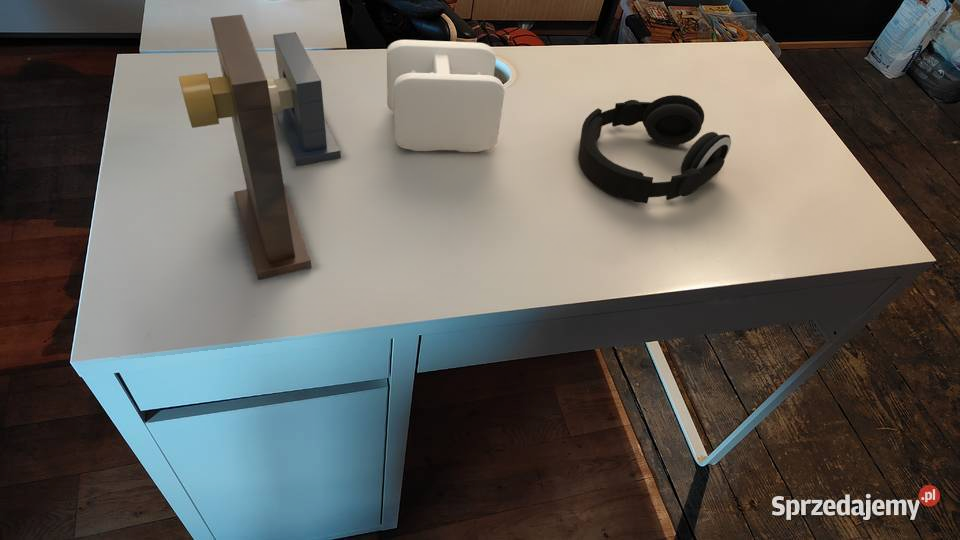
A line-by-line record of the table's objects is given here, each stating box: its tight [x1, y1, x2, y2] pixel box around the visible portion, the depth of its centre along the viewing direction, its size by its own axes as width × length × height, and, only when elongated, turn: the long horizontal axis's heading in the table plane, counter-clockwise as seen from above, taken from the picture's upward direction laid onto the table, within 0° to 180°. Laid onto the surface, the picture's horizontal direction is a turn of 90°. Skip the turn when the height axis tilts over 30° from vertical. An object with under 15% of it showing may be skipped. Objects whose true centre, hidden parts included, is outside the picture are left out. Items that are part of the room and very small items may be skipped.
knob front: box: [178, 72, 236, 129], centre depth 64 cm, size 6×5×5 cm
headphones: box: [577, 94, 732, 204], centre depth 92 cm, size 18×8×20 cm
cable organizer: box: [386, 39, 505, 153], centre depth 91 cm, size 15×11×12 cm
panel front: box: [210, 14, 313, 281], centre depth 70 cm, size 6×14×24 cm, turn 23°
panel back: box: [272, 31, 342, 167], centre depth 88 cm, size 6×14×12 cm, turn 25°
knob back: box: [266, 75, 294, 116], centre depth 86 cm, size 6×5×5 cm
